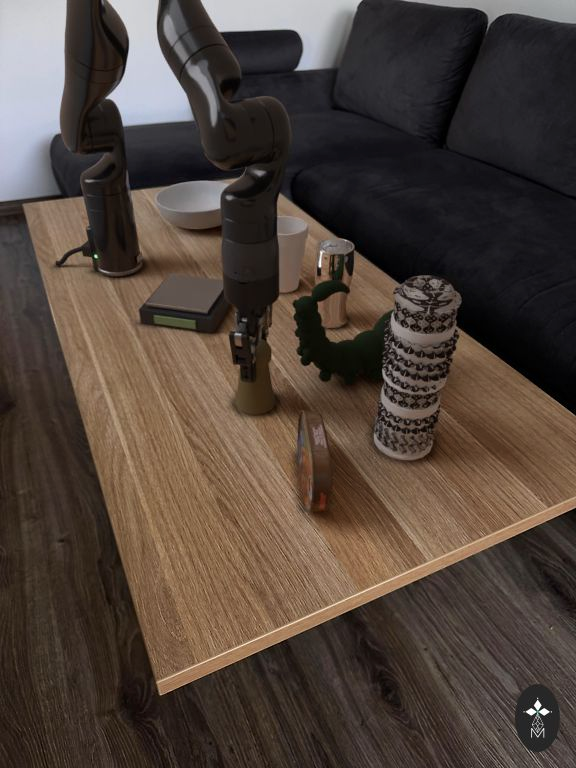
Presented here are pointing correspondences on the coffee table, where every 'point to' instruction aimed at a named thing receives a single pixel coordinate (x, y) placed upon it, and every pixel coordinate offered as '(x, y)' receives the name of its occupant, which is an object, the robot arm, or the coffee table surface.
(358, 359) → the toy figurine
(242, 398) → the olive game pawn
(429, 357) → the white patterned cylinder
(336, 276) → the shiny silver cylinder
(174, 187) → the serving bowl
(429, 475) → the coffee table surface
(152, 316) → the scale
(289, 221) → the foam cup
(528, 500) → the coffee table surface
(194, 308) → the scale platform
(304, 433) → the tin
